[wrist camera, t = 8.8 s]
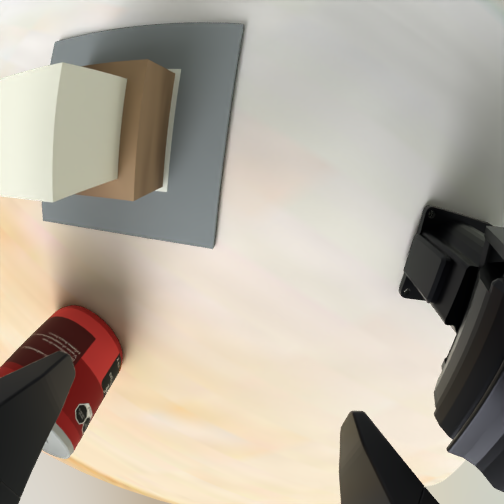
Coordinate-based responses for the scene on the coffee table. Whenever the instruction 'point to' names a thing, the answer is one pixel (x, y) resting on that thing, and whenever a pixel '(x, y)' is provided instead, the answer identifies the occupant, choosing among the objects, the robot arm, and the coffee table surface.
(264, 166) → the coffee table surface
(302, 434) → the coffee table surface
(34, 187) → the cream cube
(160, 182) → the walnut base
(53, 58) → the building mat
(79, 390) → the canned food
